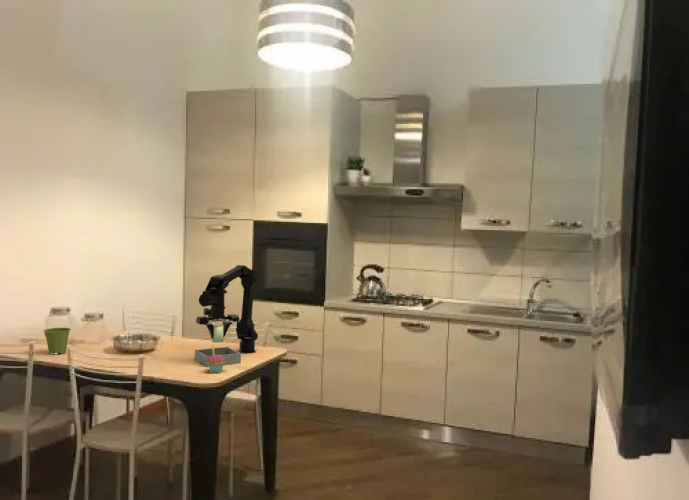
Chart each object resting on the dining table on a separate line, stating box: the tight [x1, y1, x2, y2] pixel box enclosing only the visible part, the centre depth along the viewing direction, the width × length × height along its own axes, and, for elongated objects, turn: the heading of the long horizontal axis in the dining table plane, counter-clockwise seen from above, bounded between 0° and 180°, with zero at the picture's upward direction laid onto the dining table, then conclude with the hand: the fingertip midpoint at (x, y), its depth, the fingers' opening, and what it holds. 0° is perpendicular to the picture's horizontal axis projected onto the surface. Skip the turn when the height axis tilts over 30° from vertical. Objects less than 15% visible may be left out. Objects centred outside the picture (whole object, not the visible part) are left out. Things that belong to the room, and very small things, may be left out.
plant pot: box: [42, 327, 71, 354], centre depth 294 cm, size 12×12×11 cm
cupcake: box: [206, 343, 226, 374], centre depth 266 cm, size 9×8×12 cm
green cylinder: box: [211, 324, 224, 343], centre depth 283 cm, size 5×5×7 cm
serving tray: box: [194, 346, 242, 368], centre depth 284 cm, size 16×16×4 cm
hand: (217, 338), depth 283 cm, fingers closed on green cylinder, 5 cm apart
